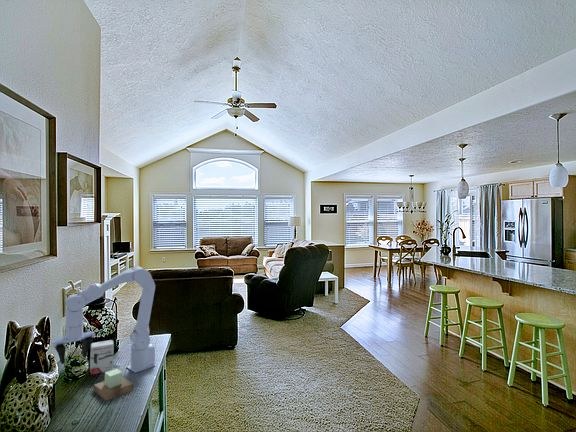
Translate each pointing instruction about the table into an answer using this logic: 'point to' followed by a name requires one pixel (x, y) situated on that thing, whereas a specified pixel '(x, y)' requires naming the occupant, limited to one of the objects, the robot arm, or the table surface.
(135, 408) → the table surface
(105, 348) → the ink box
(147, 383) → the table surface
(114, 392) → the walnut block
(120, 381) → the sage cube
